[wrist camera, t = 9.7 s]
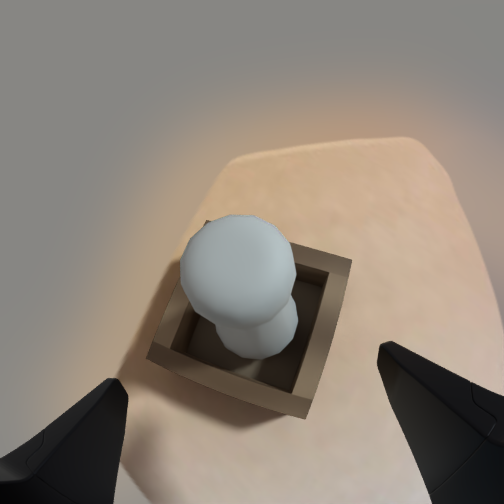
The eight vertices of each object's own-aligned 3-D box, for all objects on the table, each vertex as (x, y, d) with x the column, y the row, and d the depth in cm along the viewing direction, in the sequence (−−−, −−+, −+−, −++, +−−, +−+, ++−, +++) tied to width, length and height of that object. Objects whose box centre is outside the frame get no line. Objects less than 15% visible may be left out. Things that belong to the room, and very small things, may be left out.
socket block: (299, 410, 18) (305, 419, 14) (169, 361, 21) (146, 358, 17) (339, 280, 23) (352, 259, 19) (217, 245, 25) (206, 220, 21)
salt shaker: (207, 335, 21) (122, 283, 9) (246, 276, 23) (211, 169, 11) (271, 374, 19) (262, 380, 7) (308, 311, 21) (347, 228, 9)
